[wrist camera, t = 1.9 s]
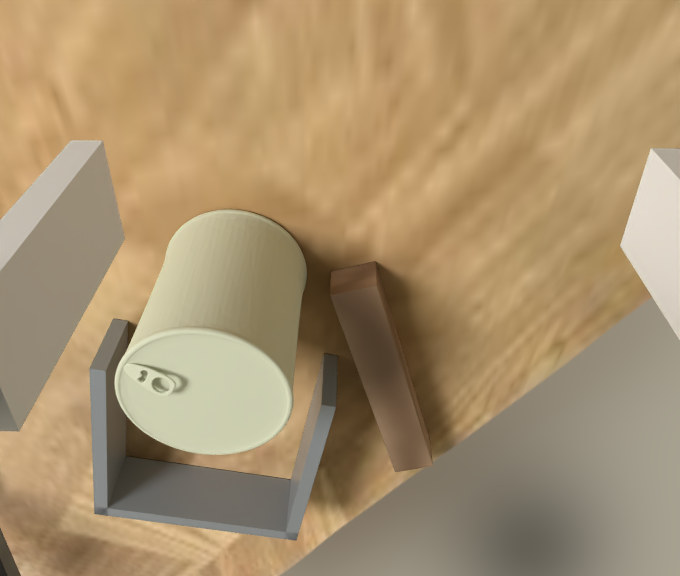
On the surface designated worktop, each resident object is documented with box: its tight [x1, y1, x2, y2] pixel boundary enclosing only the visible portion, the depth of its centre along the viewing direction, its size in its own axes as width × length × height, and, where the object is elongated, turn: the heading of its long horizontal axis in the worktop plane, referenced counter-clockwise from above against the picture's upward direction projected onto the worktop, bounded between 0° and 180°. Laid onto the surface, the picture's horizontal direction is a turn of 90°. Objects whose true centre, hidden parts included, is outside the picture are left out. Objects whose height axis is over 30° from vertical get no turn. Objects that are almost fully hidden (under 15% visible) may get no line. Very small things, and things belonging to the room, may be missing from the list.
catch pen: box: [90, 319, 338, 540], centre depth 48 cm, size 16×16×5 cm
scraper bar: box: [330, 261, 433, 472], centre depth 46 cm, size 3×18×3 cm, turn 16°
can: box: [115, 209, 307, 455], centre depth 37 cm, size 9×9×12 cm
